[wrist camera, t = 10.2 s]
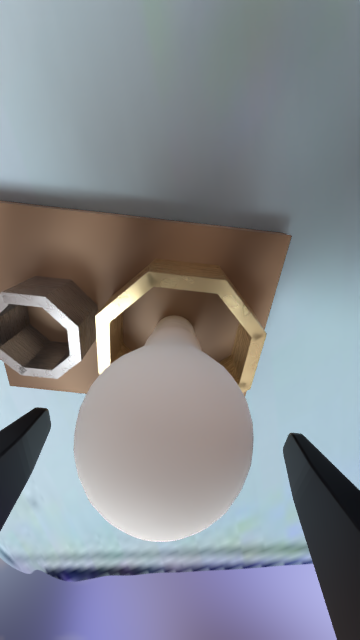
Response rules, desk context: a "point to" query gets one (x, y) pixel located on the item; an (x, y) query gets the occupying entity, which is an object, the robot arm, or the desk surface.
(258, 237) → the walnut board
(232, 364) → the brass collar
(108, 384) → the lightbulb
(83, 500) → the desk surface
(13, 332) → the grey small collar
